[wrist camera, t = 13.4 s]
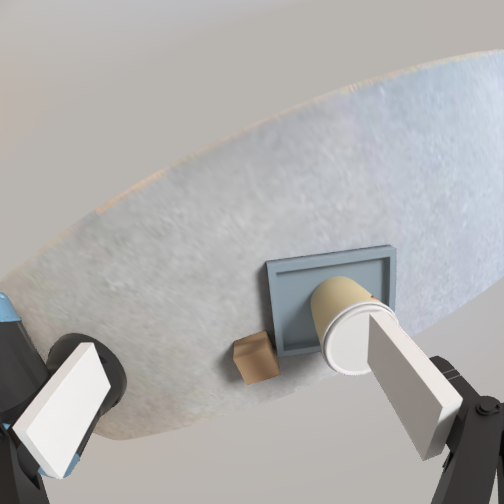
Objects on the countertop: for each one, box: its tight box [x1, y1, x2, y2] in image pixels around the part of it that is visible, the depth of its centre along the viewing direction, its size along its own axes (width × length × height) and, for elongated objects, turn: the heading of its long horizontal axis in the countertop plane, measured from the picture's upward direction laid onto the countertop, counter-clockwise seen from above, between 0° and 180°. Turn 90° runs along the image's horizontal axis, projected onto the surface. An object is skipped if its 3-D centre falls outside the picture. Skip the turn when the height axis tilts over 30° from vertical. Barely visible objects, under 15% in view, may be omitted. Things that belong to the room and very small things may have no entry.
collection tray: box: [266, 245, 396, 358], centre depth 43 cm, size 18×14×2 cm
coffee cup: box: [310, 276, 399, 376], centre depth 37 cm, size 9×9×12 cm
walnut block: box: [233, 330, 280, 385], centre depth 43 cm, size 5×5×5 cm
